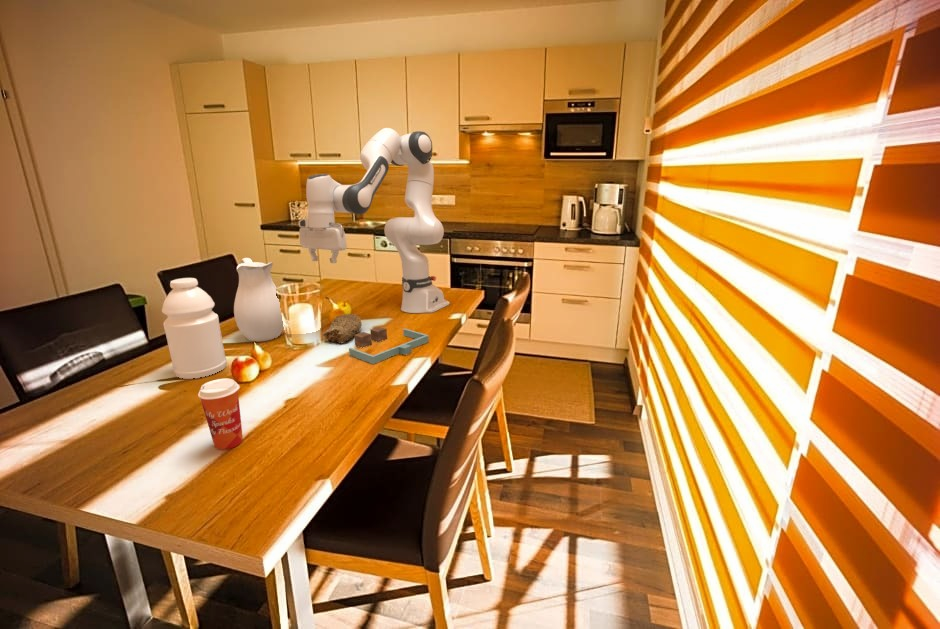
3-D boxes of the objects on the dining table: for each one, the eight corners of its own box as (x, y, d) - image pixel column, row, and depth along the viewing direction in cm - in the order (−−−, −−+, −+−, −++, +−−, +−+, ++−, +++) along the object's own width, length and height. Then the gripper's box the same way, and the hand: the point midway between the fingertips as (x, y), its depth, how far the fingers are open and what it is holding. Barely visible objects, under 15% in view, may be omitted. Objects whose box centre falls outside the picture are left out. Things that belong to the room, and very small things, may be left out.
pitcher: (294, 338, 165) (283, 261, 157) (242, 348, 156) (229, 267, 148) (278, 321, 184) (268, 252, 176) (232, 329, 175) (219, 257, 167)
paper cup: (207, 456, 96) (194, 396, 92) (210, 438, 103) (199, 381, 99) (248, 447, 99) (237, 388, 95) (249, 430, 106) (239, 374, 102)
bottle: (164, 374, 136) (143, 282, 128) (207, 358, 148) (190, 273, 140) (195, 383, 130) (175, 287, 122) (237, 365, 142) (221, 277, 134)
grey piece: (405, 335, 167) (404, 328, 166) (434, 343, 158) (433, 336, 157) (349, 355, 149) (348, 348, 148) (379, 366, 140) (378, 358, 139)
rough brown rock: (350, 348, 159) (374, 320, 175) (342, 329, 155) (367, 302, 172) (319, 351, 163) (345, 323, 180) (310, 332, 159) (337, 306, 176)
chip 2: (379, 337, 166) (379, 326, 164) (387, 339, 163) (386, 328, 162) (371, 340, 163) (370, 329, 161) (378, 342, 160) (377, 331, 159)
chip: (364, 342, 160) (363, 331, 159) (371, 345, 158) (370, 334, 157) (355, 345, 157) (354, 334, 156) (362, 348, 155) (361, 337, 154)
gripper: (349, 223, 157) (351, 263, 160) (309, 221, 167) (312, 259, 170) (335, 223, 151) (337, 265, 155) (295, 221, 162) (298, 260, 165)
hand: (324, 262), depth 163 cm, fingers open, 8 cm apart
